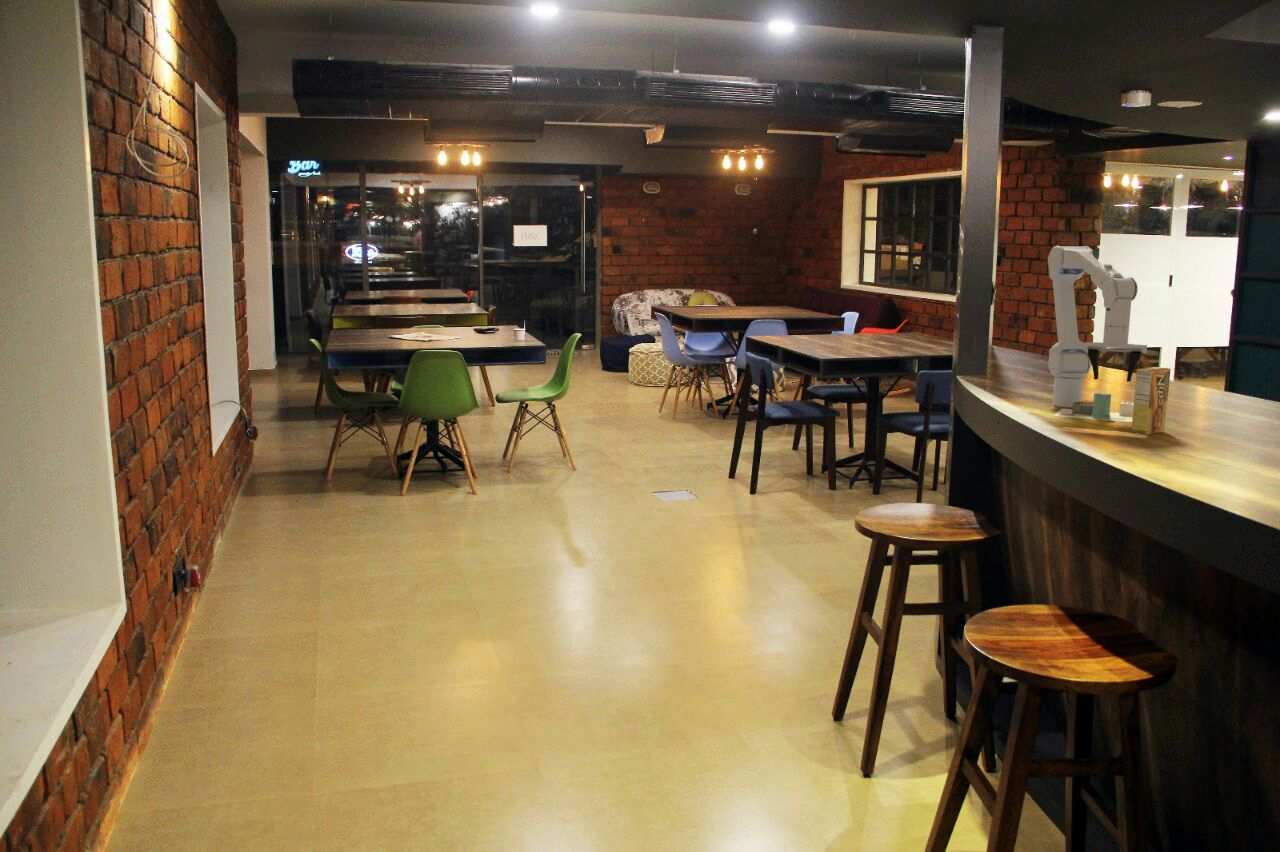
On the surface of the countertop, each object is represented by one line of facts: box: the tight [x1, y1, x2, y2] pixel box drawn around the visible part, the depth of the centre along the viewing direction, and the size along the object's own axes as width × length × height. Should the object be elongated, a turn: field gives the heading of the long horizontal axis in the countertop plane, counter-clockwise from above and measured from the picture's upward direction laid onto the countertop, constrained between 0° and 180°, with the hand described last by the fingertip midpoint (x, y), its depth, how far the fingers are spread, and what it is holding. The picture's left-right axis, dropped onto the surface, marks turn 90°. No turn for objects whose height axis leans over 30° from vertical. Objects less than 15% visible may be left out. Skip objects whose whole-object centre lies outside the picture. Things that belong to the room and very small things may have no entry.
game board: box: [1052, 401, 1134, 423], centre depth 276 cm, size 15×22×4 cm
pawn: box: [1091, 392, 1112, 420], centre depth 272 cm, size 4×4×6 cm
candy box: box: [1131, 366, 1172, 436], centre depth 255 cm, size 9×4×15 cm, turn 129°
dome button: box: [1081, 399, 1094, 406], centre depth 280 cm, size 6×6×2 cm
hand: (1112, 380), depth 273 cm, fingers open, 7 cm apart
